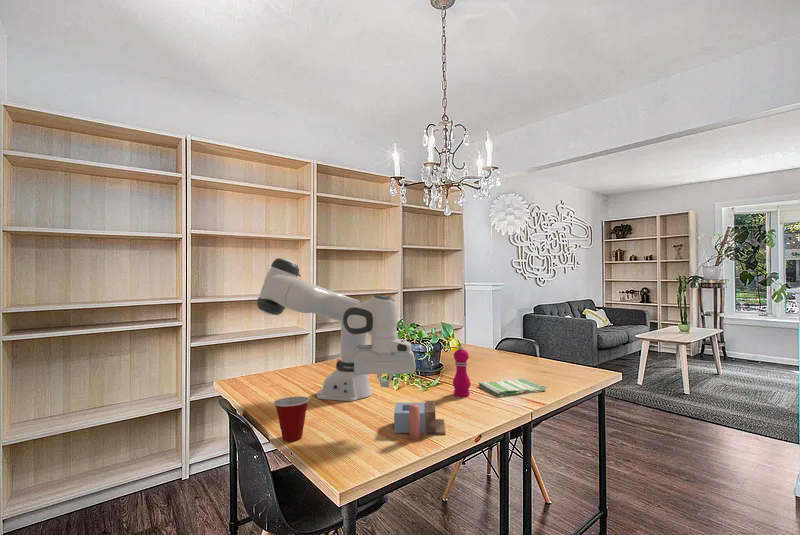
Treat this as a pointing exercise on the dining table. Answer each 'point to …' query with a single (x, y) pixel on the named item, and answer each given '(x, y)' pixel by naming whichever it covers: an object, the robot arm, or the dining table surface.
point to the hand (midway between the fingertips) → (385, 386)
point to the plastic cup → (292, 416)
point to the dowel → (414, 422)
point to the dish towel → (511, 387)
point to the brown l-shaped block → (433, 421)
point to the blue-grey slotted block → (403, 417)
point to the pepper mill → (461, 373)
